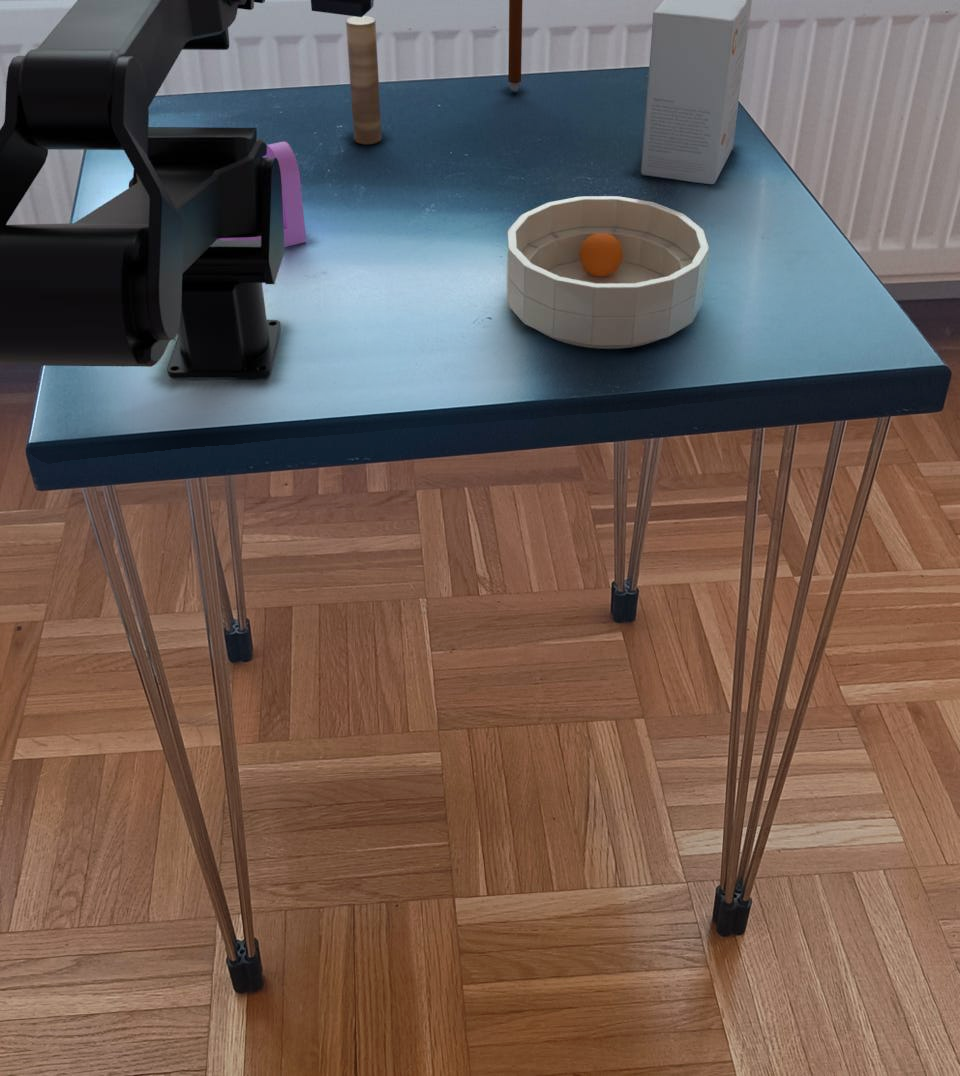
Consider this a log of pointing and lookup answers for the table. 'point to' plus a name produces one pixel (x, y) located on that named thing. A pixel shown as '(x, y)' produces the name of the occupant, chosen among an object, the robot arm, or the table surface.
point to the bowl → (617, 299)
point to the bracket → (286, 196)
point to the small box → (694, 87)
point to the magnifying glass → (515, 43)
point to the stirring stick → (364, 79)
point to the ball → (601, 254)
